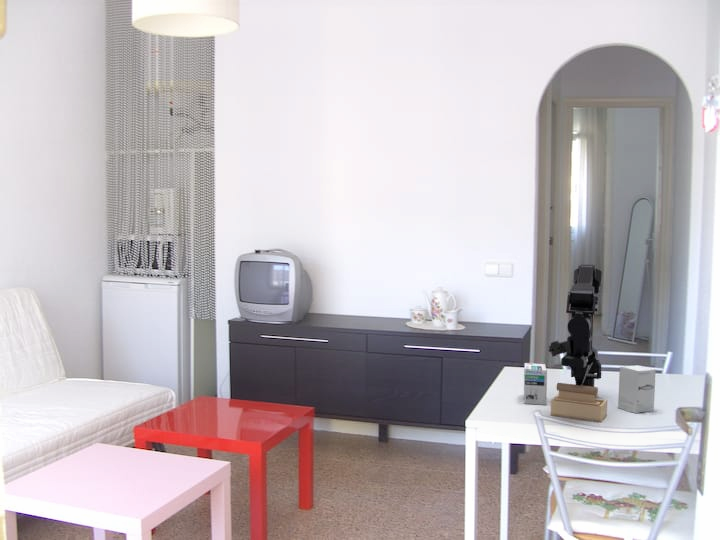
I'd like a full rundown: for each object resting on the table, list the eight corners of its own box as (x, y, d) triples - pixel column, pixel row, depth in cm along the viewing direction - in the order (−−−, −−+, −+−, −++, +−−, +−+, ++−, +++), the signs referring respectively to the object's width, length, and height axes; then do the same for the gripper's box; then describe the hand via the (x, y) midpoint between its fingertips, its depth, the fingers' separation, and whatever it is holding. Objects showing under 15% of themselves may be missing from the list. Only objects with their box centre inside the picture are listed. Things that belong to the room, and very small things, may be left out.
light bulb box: (546, 405, 229) (547, 370, 229) (523, 404, 231) (524, 368, 230) (545, 397, 240) (546, 363, 239) (523, 396, 241) (524, 362, 240)
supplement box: (635, 413, 221) (637, 370, 220) (617, 407, 228) (618, 366, 227) (654, 411, 224) (656, 369, 223) (636, 405, 230) (637, 364, 230)
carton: (558, 409, 225) (558, 394, 225) (606, 415, 218) (607, 400, 218) (550, 415, 218) (550, 399, 217) (600, 422, 211) (601, 406, 211)
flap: (555, 397, 219) (555, 381, 219) (600, 403, 213) (601, 386, 213) (553, 399, 217) (553, 383, 216) (598, 405, 211) (599, 388, 210)
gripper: (560, 326, 227) (559, 378, 229) (543, 334, 211) (541, 389, 212) (598, 329, 222) (597, 382, 223) (584, 337, 206) (582, 394, 207)
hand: (578, 387), depth 216 cm, fingers closed
